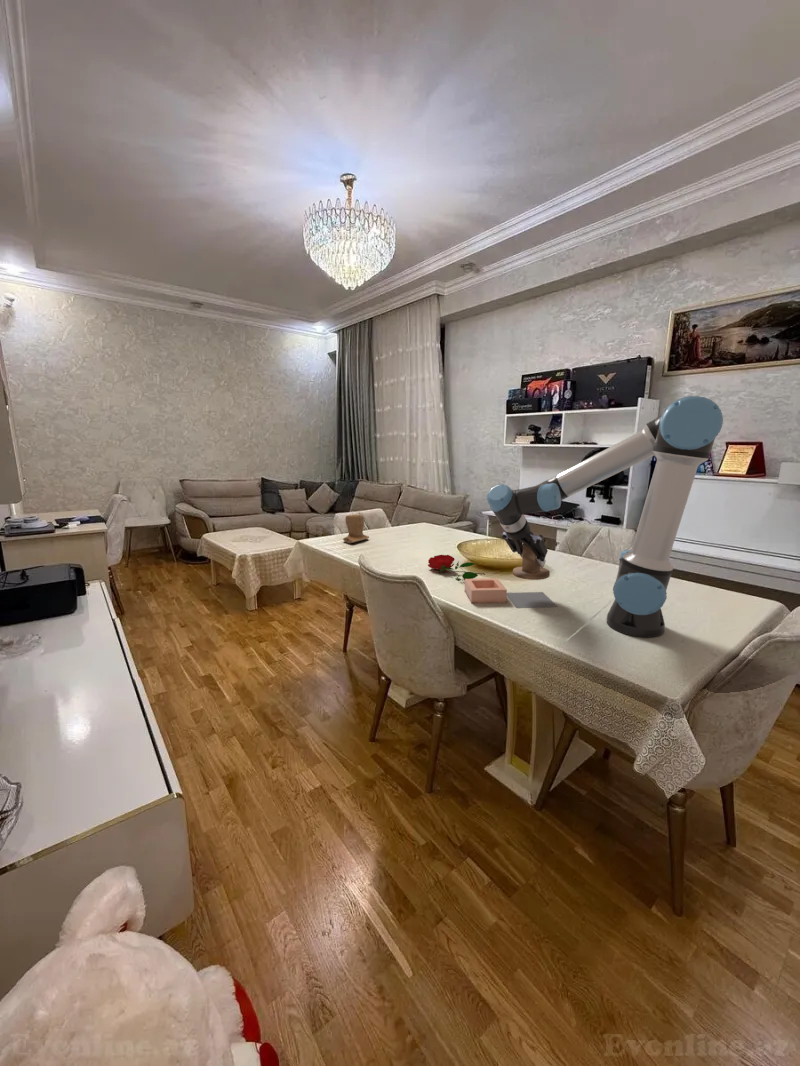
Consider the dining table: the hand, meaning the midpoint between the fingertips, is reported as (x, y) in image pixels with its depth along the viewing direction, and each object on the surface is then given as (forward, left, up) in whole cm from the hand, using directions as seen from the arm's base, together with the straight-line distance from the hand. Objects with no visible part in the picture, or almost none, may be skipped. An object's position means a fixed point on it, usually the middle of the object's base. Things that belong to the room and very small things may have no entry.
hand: (536, 563), depth 149 cm
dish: (+1, +17, -13) cm, 21 cm away
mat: (-3, +2, -13) cm, 13 cm away
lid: (-3, +3, -3) cm, 5 cm away
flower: (+25, +23, -13) cm, 37 cm away
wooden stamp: (+89, +68, -13) cm, 113 cm away
